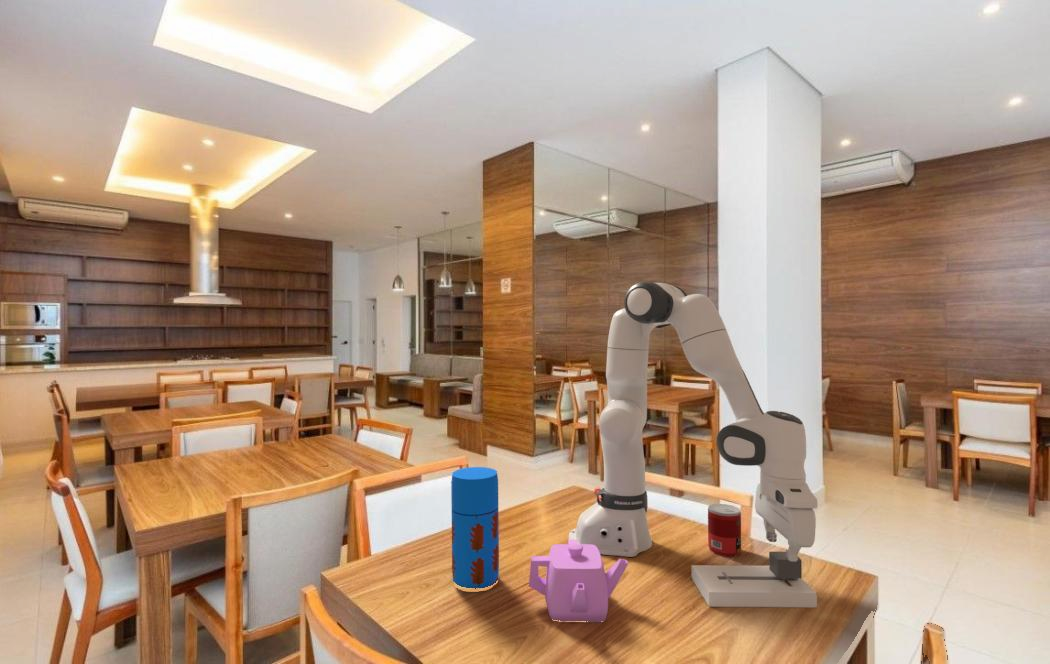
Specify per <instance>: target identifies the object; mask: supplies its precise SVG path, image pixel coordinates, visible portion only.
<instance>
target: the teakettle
mask: <svg viewBox="0 0 1050 664" xmlns="http://www.w3.org/2000/svg"><path fill="white" fill-rule="evenodd" d="M539 567H546V573H545V574H546V575H545V578H543V577H540V576H539ZM628 567H629V561H628V560H627V559H622V558H618V560H617V561H616V562H615V563H614V564H613V565H612V566H611V568H609V569H608V570H607V572H605V567H604V563H603V558H602V554H600V552H599V550H598V548H597V547H596V546H595V545H591V544H578V540H569V538H568V539H567V543H566V544H565V543H562V544H561V543H559V544H558V543H557V544H555V543H554V544H553V545H552V546H551V548H550V550H549V555H541V556H540V555H538V556H537V555H535V556H534V555H533V556H531V557H530V569H529V580H528V587H530V588H531V589H533V590H534V591H536V592H538V593H540V594H541V595H543V596H544V597H545V604H546V607H547V608H546V609H547V612H548V615H549V618H550V617H551V618H550V620H551V619H553V620H558V621H559V620H560V621H586V622H587V621H588V622H598V623H602V622H601V621H604V620H605V621H606V618H607V614H608V612H609V611H608V609H609V598H610V597H612V595H613V594H612V593H613V592H614V590H615V588H616V587H617V585H618V583H619V581H620V580H621V578H622V576H623V575H624V573H625V571H626V569H627V568H628ZM605 621H604V622H605Z"/></svg>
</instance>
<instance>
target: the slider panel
mask: <svg viewBox="0 0 1050 664" xmlns="http://www.w3.org/2000/svg"><path fill="white" fill-rule="evenodd" d="M691 580H692V581H693V583H694V584H695V586H696V588H697V590H698V592H700V595H701V596H702V598H703V599H704V601H705V602H706V604H707V605H708V607H711V608H713V607H715V608H716V607H717V608H719V607H723V608H725V607H727V608H728V607H732V608H735V607H736V608H737V607H738V608H818V593H817V591H816V590H814V588H812V587H811V586H810V585H809V584H808V583H807V582H806V581H805V580H804V579H803V578H777V577H776V576H775V575H774V574H773V573H772V572H771V571H770V570H769V565H727V564H726V565H723V564H722V565H717V564H716V565H715V564H714V565H712V564H710V565H707V564H706V565H704V564H703V565H700V564H699V565H698V564H697V565H695V564H694V565H691Z"/></svg>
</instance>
